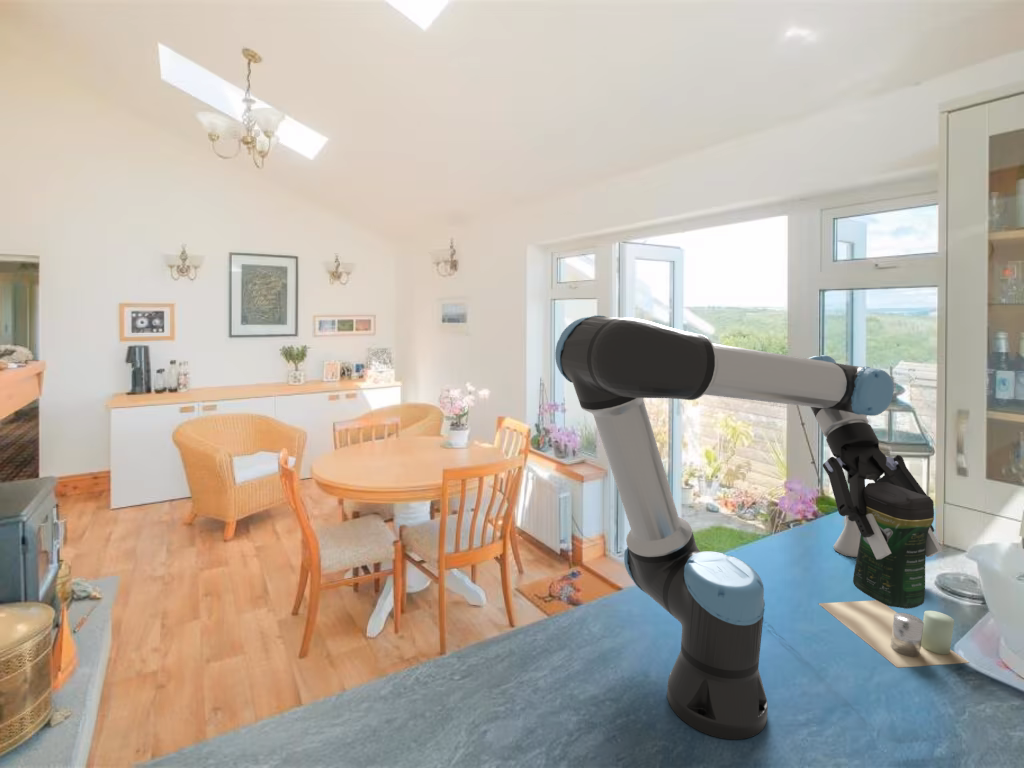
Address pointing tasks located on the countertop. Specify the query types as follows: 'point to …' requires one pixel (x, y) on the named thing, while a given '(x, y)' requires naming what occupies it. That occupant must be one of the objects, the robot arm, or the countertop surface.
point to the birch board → (883, 632)
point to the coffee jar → (895, 546)
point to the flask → (848, 540)
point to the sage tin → (937, 632)
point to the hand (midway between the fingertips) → (909, 554)
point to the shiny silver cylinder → (907, 634)
